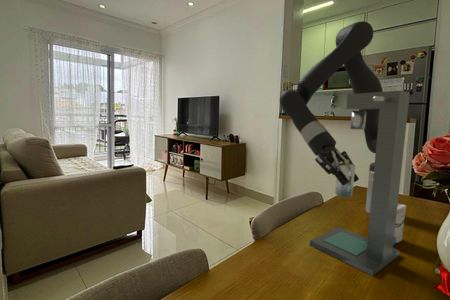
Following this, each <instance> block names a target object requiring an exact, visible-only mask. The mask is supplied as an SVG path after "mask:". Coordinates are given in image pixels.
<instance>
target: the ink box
mask: <svg viewBox="0 0 450 300" xmlns="http://www.w3.org/2000/svg"><path fill="white" fill-rule="evenodd" d="M406 209H407V205H405V204H401V203H399V202H398V205H397V215H396V224H395V233H394V242H393V246H394V245H396V244H397V243H400V242H402V240H403V235H404V234H403V232H404V225H405V217H406Z"/></svg>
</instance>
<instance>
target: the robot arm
mask: <svg viewBox="0 0 450 300" xmlns="http://www.w3.org/2000/svg"><path fill="white" fill-rule="evenodd" d="M373 38H374V29H373V26H372V25H371V24H370V22H368V21H364V20H363V21H357V22H353V23H351V24H349V25H347V26H344V27H343V28H341V29H340V30H339V31H338V32H337V33H336V37H335V46H336V47H335V48H334V49H333V50H332V51H331V52H330V53H328V54H327V55H326V56H325V57H323V58H322V59H321V60H319V61H318V62H317V63H315V64H314V65H313V66H312V67H311V68H310V69H309V70H308V71H307V72H306V73H305V74H303V76H302V77H300V79H299V81H298V82H297V84H296V85H297V86H296V90H294V89H292V88H291V89H286V90H284V91H282V93H281V94H280V96H279V104H280V106H281V109H282V112H283V113H284V114H285V115H287V116H288V117H290V118H291V120H292V122H293V125H294V127H295V128H296V129H297V131H298V132H299V133H300V135H301V138H302V139H303V141H304V142H305V143H306V145H307V146H308V147H309V148H310V150H311V152H312V153H313V155H315V156H316V158H315V159H314V161H315V162H316V163H317V164H318V165H319V166H320V167H321V169H323V170H324V171H325V173H326V174H328V175H330V174H331V175H332V176H334V177H336V178H337V179H338V180H339V182H340V183H341V184H342V185H346V184H347V183H349V180H348V179H347V177H346V176H345V175H344V173H343V172H342V171H341V170H340V168H339V166H338V164H339V163H344V160H349V164H353V165H355V164H354V163H353V162H352V161H353V160H352V159H351V158H350V156H349V154H348V153H347V151H345V150H343V151H342V152H341V151H340V150H338V149H337V147H336V145H337V141H336V140H335V138H334V137H333V136H332V135H331V133H330V131H328V130H327V128H326V127H325V126H324V125H323V124H322V123H321V122H320V120H318V118H317V117H316V116H315V114H314V113H313V112H312V111H311V110H310V109H309V107H308V106H307V104H309V102H310V100H311V98H312V97H313V95H314V94H315V93H316V92H317V91H318V90H319V89H320V88H321V87H323V85H324V84H325V83H326V82H327V81H328V80H329V78H331V77H332V76H333V75H334V74H336V73H337V71H338V70H339V69H341V68H342V67H343V66H344V68H345V71H346V75H347V77H348V80H349V83H350V86H351V89H352V94H358V93H373V92H384V90H383V88H382V84H381V81H380V80H379V78H378V76H377V75H376V73H374V72H373V70H372V69H371V68H370V67H369V66H368V65H367V63H366V62H365V60H364V58H363V54H362V50H364V49H366V47H368V46H369V45H370V44H371V42H372V39H373ZM358 111H366V122H365V129H363V133H364V137H365V142H366V147H367V148H368V151H370V152H371V153H373V154H376V144H377V133H378V122H379V112H380V109H358ZM374 165H375V162H371V163H370V164H369V166H368V167H369V168H368V181H367V182H368V183H367V191H366V200H365V201H366V202H365V212H366V213H367V214H369V215H370V208H371V197H372V186H373V176H374ZM336 178H335V179H336ZM359 180H360V179H359V176H358V175H357V174H356V173H355V175H354V183H356V182H357V181H359Z"/></svg>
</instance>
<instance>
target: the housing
mask: <svg viewBox="0 0 450 300" xmlns="http://www.w3.org/2000/svg"><path fill="white" fill-rule="evenodd" d="M353 164H354V163H353ZM353 164H349V160H344V163H342V162H340V163H339V164H338V166H339V168H340V170H341V171H342V172H343V173H344V175H345V176H346V177H347V179H348V180H349V183H347V184H346V185H342V184H341V183H340V182H339V180H338V179H337V178H335V190H334V194H335V195H336V196H339V197H344V198H350V197H353V196H354V186H355V185H354V184H355V182H354V175H355V174H356V173H355V171H356V165H355V164H354V165H353Z"/></svg>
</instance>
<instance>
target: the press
mask: <svg viewBox="0 0 450 300" xmlns="http://www.w3.org/2000/svg"><path fill="white" fill-rule="evenodd" d="M346 96H347V97H346V107H345V108H346V110H351V116H350V117H351V118H350V130H364V129H365V122H366V111H359V109H380V112H379V122H378V133H377V144H376V153H374V155H375V156H374V163H375V165H374V176H373V186H372V197H371V208H370V214H369V221H368V231H367V237H366V236H363V235H360V234H358V233H355V232H353V231H351V230H347V229H345V228H342V227H339V226H338V227H336V228H333V229H331V230H330V231H327V232H326V233H323V234H320V235H318V236H317V237H314V238H312V239H310V240H309V245H310V246H311V247H313V248H315V249H318V250H319V251H321V252H324V254H325V253H326V254H328V255H329V256H332V257H333V258H335V259H337V260H339V261H342V262H344V263H346V264H347V265H350V266H351V267H354V268H355V269H357V270H359V271H362V272H364V273H366V274H367V275H369V276H371V277H373V276H375V275H376V274H377V273H379V272H380V271H381V270H382V269H383V268H385V267H386V266H387V265H389V264H390V263H391V262H392V261H394V260H395V259H397V258H398V257H399V256H400V249H397V248H395V247H394V245H393V242H394V233H395V224H396V215H397V205H398V203H399V194H400V188H401V187H400V186H401V178H402V168H403V167H402V166H403V158H404V148H405V139H406V132H407V121H408V115H409V114H408V113H409V103H410V97H411V93H410V91H405V90H392V91H383V92H373V93H358V94H353V93H347V95H346Z"/></svg>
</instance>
